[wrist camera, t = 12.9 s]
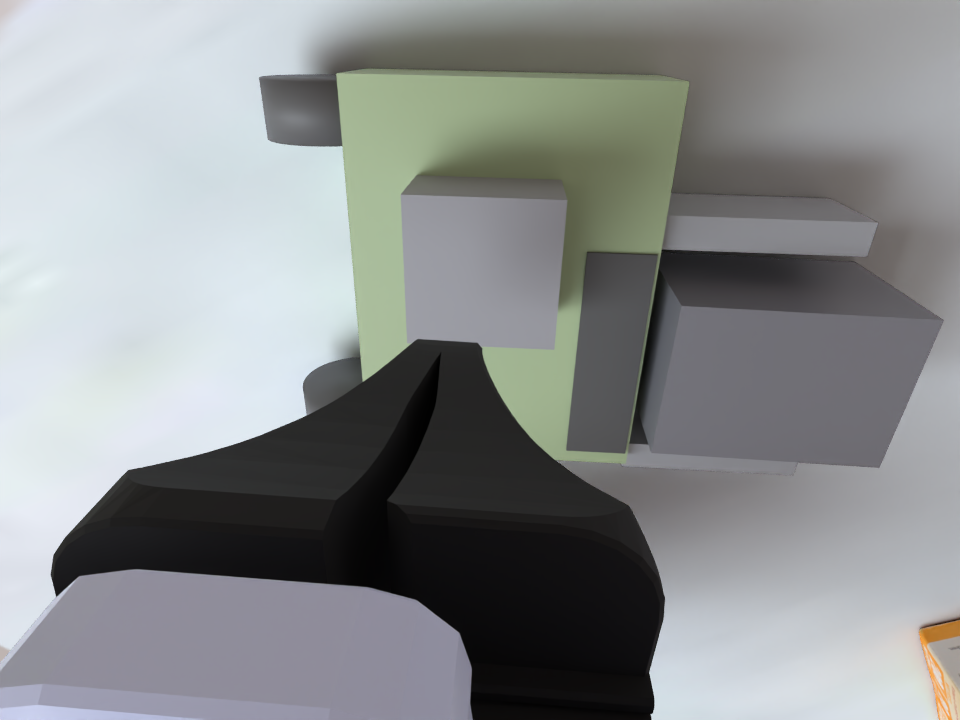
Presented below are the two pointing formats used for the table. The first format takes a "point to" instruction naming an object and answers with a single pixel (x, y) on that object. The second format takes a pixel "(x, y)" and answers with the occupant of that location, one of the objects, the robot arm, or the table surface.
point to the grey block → (779, 359)
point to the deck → (517, 140)
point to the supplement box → (944, 666)
